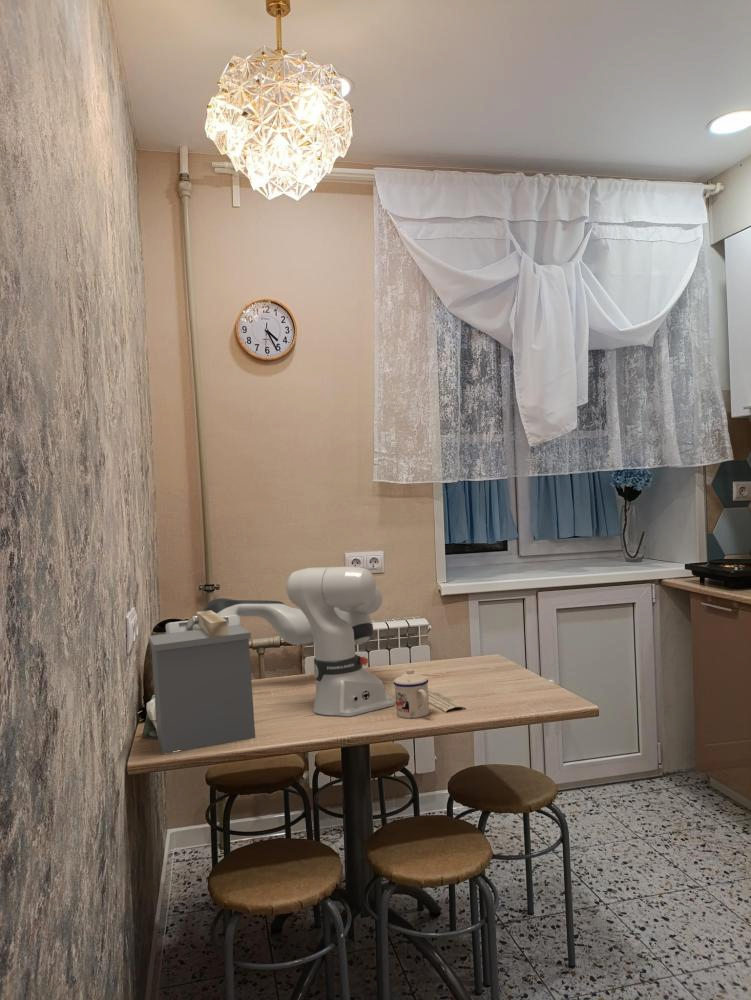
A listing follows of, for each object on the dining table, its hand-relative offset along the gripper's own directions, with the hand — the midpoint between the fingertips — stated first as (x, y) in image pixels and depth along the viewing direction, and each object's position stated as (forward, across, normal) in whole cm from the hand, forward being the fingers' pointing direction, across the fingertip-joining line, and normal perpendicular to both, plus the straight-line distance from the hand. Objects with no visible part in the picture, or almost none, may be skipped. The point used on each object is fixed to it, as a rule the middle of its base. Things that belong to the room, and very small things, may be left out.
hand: (206, 617), depth 198 cm
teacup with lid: (+8, -48, -38) cm, 62 cm away
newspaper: (0, -59, -34) cm, 68 cm away
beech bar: (+6, 0, -6) cm, 9 cm away
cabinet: (-3, +4, -31) cm, 31 cm away
